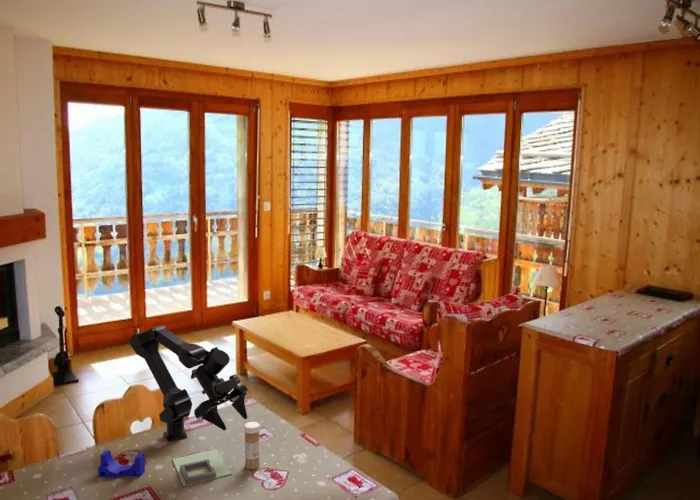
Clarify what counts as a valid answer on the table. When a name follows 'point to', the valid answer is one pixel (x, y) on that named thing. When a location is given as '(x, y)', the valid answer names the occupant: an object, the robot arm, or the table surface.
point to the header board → (201, 467)
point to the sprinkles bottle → (252, 445)
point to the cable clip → (120, 466)
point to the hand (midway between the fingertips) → (236, 424)
